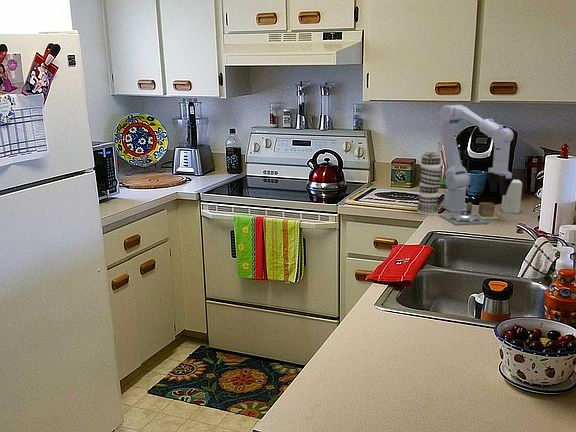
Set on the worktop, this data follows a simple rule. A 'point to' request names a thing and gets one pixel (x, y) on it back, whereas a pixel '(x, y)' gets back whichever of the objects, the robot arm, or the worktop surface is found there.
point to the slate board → (463, 221)
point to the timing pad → (489, 218)
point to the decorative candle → (429, 183)
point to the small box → (512, 198)
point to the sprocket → (465, 214)
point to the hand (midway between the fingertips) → (498, 193)
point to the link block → (486, 209)
